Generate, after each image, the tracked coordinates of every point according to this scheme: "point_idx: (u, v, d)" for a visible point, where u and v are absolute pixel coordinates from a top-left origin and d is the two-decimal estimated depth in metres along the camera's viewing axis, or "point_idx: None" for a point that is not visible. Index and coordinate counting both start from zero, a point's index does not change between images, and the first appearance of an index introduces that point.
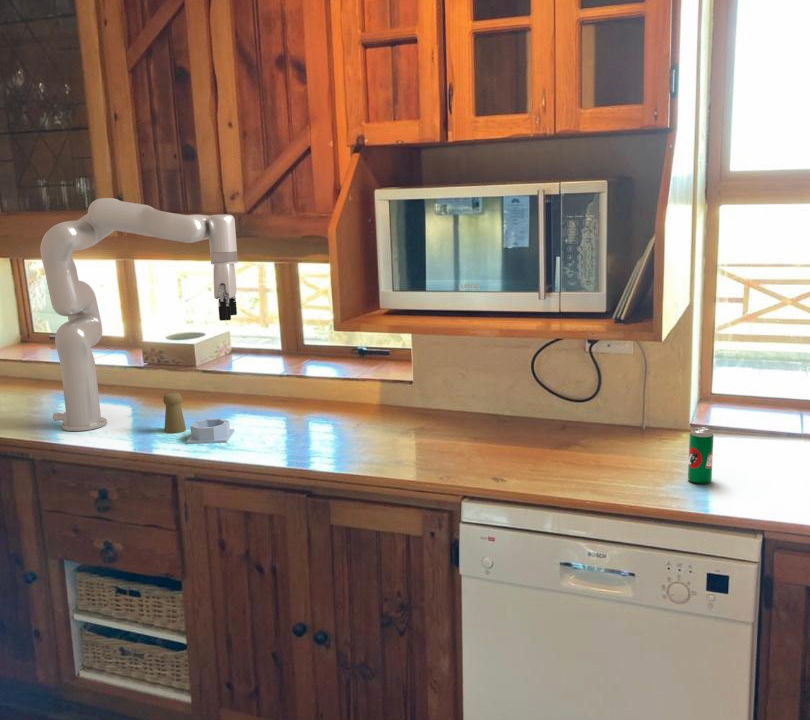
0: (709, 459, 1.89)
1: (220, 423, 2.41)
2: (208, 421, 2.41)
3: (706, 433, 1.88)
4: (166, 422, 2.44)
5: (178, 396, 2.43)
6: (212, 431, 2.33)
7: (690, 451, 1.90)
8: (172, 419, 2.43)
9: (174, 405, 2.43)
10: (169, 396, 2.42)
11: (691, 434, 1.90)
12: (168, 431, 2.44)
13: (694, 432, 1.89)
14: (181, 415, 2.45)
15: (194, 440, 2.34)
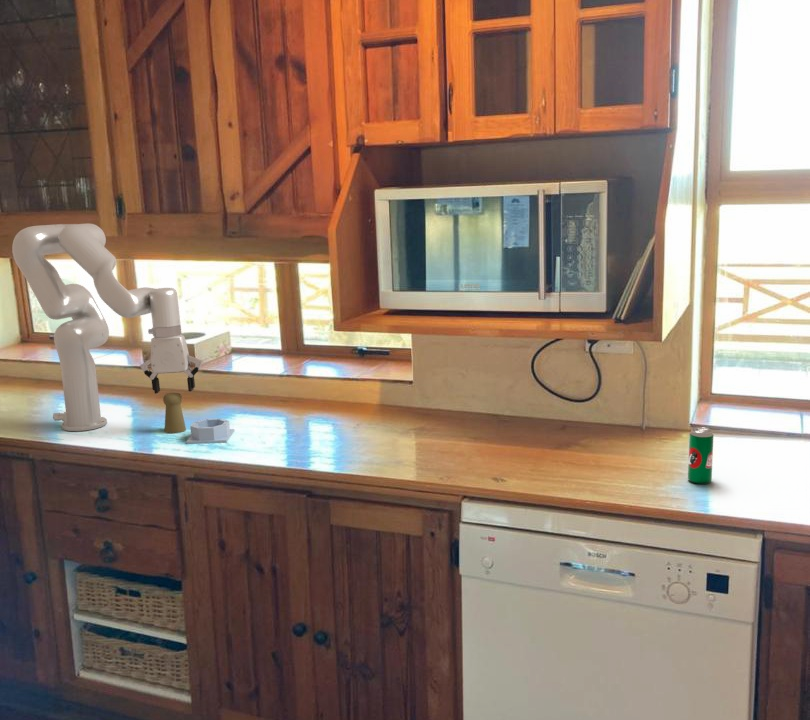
0: (709, 459, 1.89)
1: (220, 423, 2.41)
2: (208, 421, 2.41)
3: (706, 433, 1.88)
4: (166, 422, 2.44)
5: (178, 396, 2.43)
6: (212, 431, 2.33)
7: (690, 451, 1.90)
8: (172, 419, 2.43)
9: (174, 405, 2.43)
10: (169, 396, 2.42)
11: (691, 434, 1.90)
12: (168, 431, 2.44)
13: (694, 432, 1.89)
14: (181, 415, 2.45)
15: (194, 440, 2.34)
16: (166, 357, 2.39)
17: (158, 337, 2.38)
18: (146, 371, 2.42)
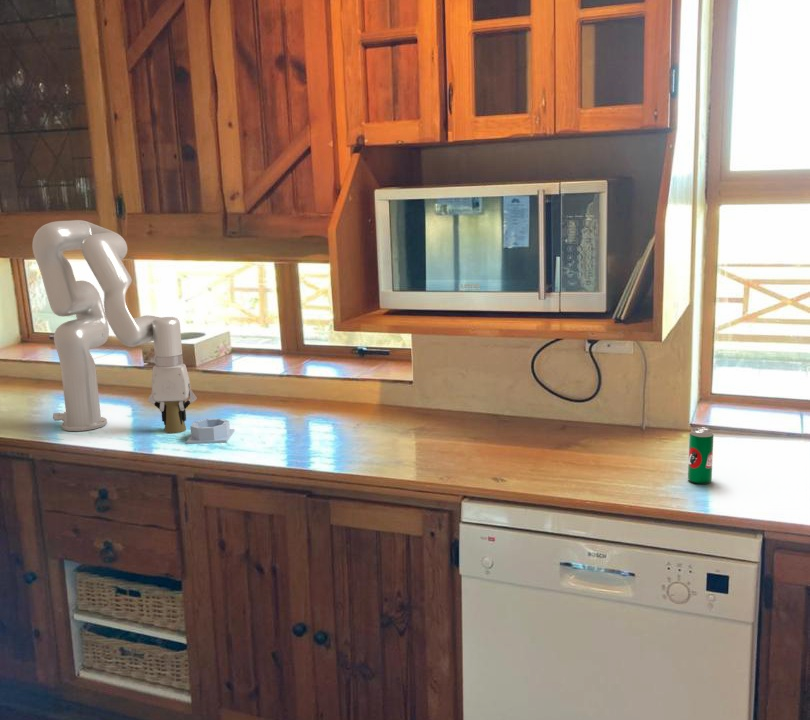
0: (709, 459, 1.89)
1: (220, 423, 2.41)
2: (208, 421, 2.41)
3: (706, 433, 1.88)
4: (166, 422, 2.44)
5: None
6: (212, 431, 2.33)
7: (690, 451, 1.90)
8: (172, 419, 2.43)
9: (174, 405, 2.43)
10: None
11: (691, 434, 1.90)
12: (168, 431, 2.44)
13: (694, 432, 1.89)
14: None
15: (194, 440, 2.34)
16: (167, 386, 2.41)
17: (160, 366, 2.39)
18: (156, 403, 2.44)
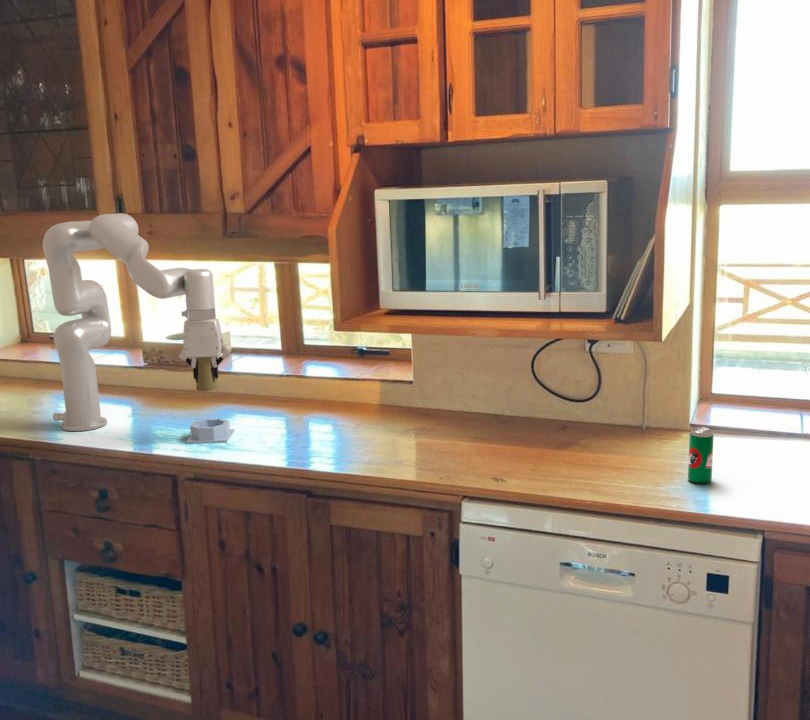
0: (709, 459, 1.89)
1: (220, 423, 2.41)
2: (208, 421, 2.41)
3: (706, 433, 1.88)
4: (198, 379, 2.33)
5: None
6: (212, 431, 2.33)
7: (690, 451, 1.90)
8: (204, 376, 2.33)
9: (206, 362, 2.32)
10: None
11: (691, 434, 1.90)
12: (200, 388, 2.33)
13: (694, 432, 1.89)
14: None
15: (194, 440, 2.34)
16: (199, 341, 2.30)
17: (192, 320, 2.29)
18: (188, 359, 2.33)
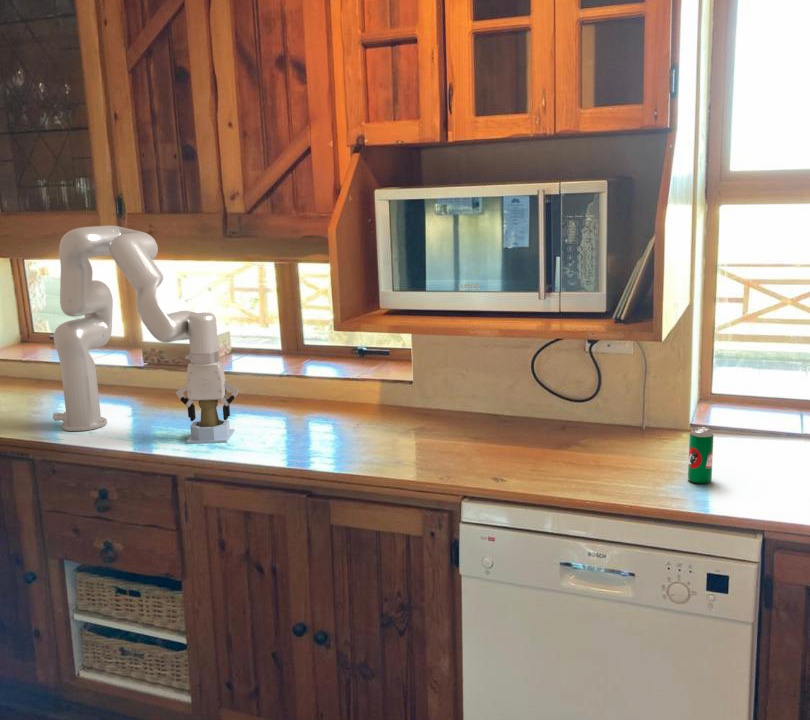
0: (709, 459, 1.89)
1: (220, 423, 2.41)
2: None
3: (706, 433, 1.88)
4: (202, 426, 2.36)
5: None
6: (212, 431, 2.33)
7: (690, 451, 1.90)
8: (208, 423, 2.35)
9: (210, 409, 2.35)
10: None
11: (691, 434, 1.90)
12: None
13: (694, 432, 1.89)
14: (217, 419, 2.37)
15: (194, 440, 2.34)
16: (203, 384, 2.33)
17: (195, 363, 2.31)
18: (182, 398, 2.35)
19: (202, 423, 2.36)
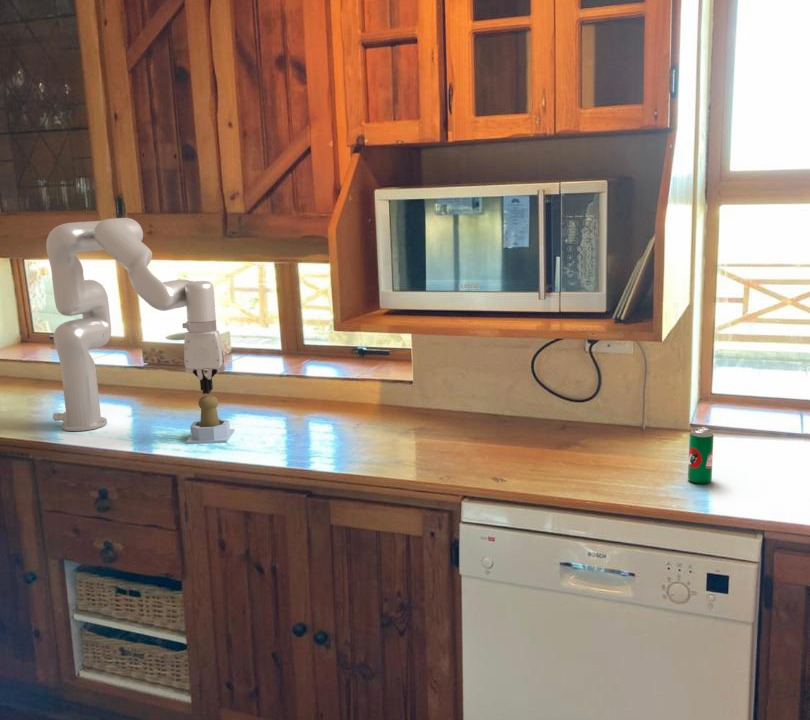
0: (709, 459, 1.89)
1: (220, 423, 2.41)
2: None
3: (706, 433, 1.88)
4: (202, 426, 2.36)
5: (214, 399, 2.35)
6: (212, 431, 2.33)
7: (690, 451, 1.90)
8: (208, 423, 2.35)
9: (210, 409, 2.35)
10: (205, 399, 2.34)
11: (691, 434, 1.90)
12: None
13: (694, 432, 1.89)
14: (217, 419, 2.37)
15: (194, 440, 2.34)
16: (200, 353, 2.31)
17: (193, 332, 2.29)
18: (195, 370, 2.34)
19: (202, 423, 2.36)
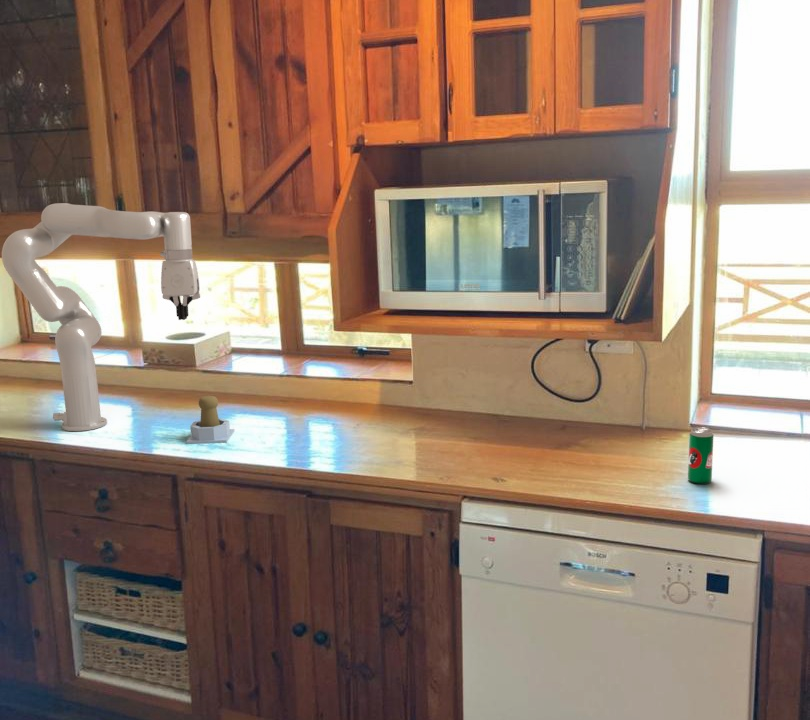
0: (709, 459, 1.89)
1: (220, 423, 2.41)
2: None
3: (706, 433, 1.88)
4: (202, 426, 2.36)
5: (214, 399, 2.35)
6: (212, 431, 2.33)
7: (690, 451, 1.90)
8: (208, 423, 2.35)
9: (210, 409, 2.35)
10: (205, 399, 2.34)
11: (691, 434, 1.90)
12: None
13: (694, 432, 1.89)
14: (217, 419, 2.37)
15: (194, 440, 2.34)
16: (176, 280, 2.44)
17: (169, 259, 2.42)
18: (171, 297, 2.47)
19: (202, 423, 2.36)
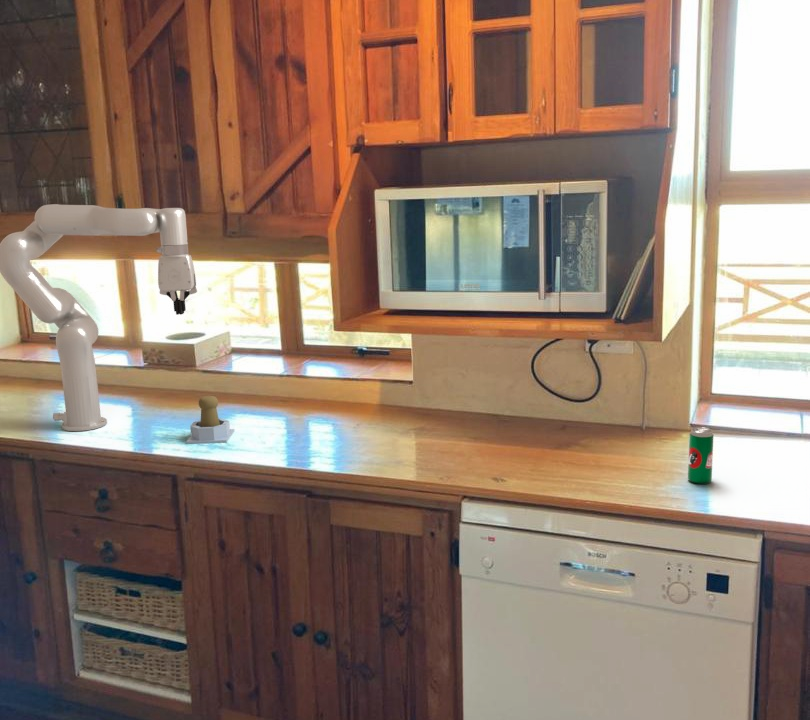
0: (709, 459, 1.89)
1: (220, 423, 2.41)
2: None
3: (706, 433, 1.88)
4: (202, 426, 2.36)
5: (214, 399, 2.35)
6: (212, 431, 2.33)
7: (690, 451, 1.90)
8: (208, 423, 2.35)
9: (210, 409, 2.35)
10: (205, 399, 2.34)
11: (691, 434, 1.90)
12: None
13: (694, 432, 1.89)
14: (217, 419, 2.37)
15: (194, 440, 2.34)
16: (173, 275, 2.47)
17: (166, 255, 2.45)
18: (168, 292, 2.50)
19: (202, 423, 2.36)
